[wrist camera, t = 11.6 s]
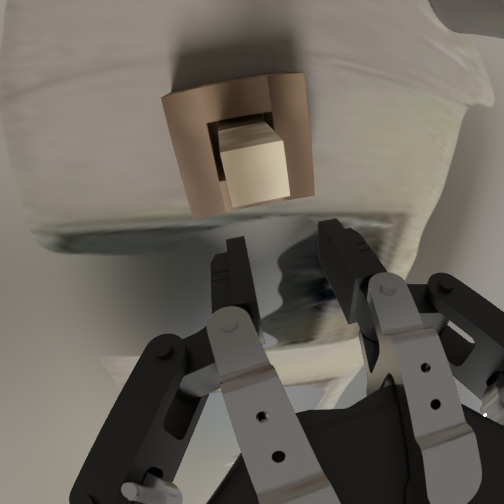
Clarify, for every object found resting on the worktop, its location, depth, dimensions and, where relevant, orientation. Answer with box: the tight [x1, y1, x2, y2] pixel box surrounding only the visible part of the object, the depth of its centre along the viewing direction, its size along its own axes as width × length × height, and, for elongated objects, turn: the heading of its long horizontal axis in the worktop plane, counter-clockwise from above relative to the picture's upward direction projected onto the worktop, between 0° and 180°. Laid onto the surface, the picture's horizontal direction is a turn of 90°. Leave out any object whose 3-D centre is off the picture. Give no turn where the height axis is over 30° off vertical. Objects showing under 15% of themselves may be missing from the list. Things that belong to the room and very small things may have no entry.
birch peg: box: [217, 114, 290, 208], centre depth 23 cm, size 4×4×12 cm
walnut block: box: [161, 72, 315, 219], centre depth 26 cm, size 12×12×6 cm
